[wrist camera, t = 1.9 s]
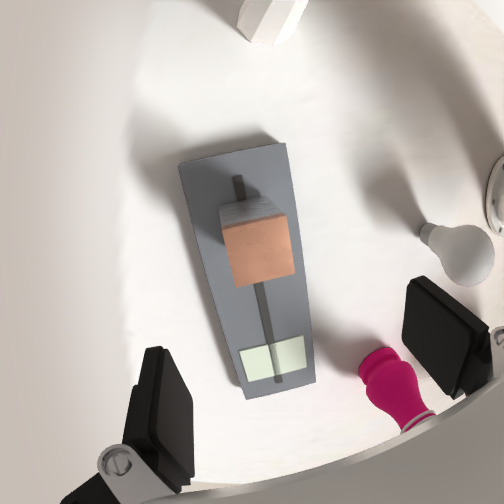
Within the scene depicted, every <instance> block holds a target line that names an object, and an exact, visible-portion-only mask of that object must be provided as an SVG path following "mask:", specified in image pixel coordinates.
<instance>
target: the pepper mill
mask: <svg viewBox="0 0 504 504" xmlns="http://www.w3.org/2000/svg"><path fill="white" fill-rule="evenodd" d="M359 376H360V378H361V379H362V381H363V383H364V384H365V385H367V387H366V394H367V396H368V398H369V400H370V401H371V402H372V403H373V404H374V405H375V406H376V407H377V408H379V409H381V410H383V411H385V412H386V413H388V414H389V415H390V416H391V417H393V418H394V420H395V421H396V422H397V423H398V425H399V427H400V429H401V433H400V435H401V434H403V433H405V432H407V431H409V430H411V429H413V428H415V427H417V426H419V425H421V424H422V423H424V422H426V421H428V420H430V419H432V418H433V417H435V416H437V415H436V414H435V412H434V411H433V410H429V409H428V408H427V407H426V406H425V404H424V403H423V401H422V398H421V395H420V392H419V387H418V381H417V377H416V374H415V371H414V370H413V368H412V366H411V365H410V364H409V363H408V362H405V361H401V359H400V357H399V356H398V354H397V353H396V352H395V350H393V349H392V348H381V349H378V350H376V351H374V352H373V353H371V354H370V355H369V356H367V357H366V358H365V360H364V361H363V362H362V364H361V366H360V368H359Z"/></svg>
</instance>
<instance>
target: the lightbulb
mask: <svg viewBox="0 0 504 504" xmlns="http://www.w3.org/2000/svg"><path fill="white" fill-rule="evenodd" d="M420 239H421V241H422V242H423V243H424V244H426V245H427V246H429V248H430V249H431V250H432V251H433V252H434V253H435V254H436V255H437V256H438V257H439V258H440V261H441V263H442V266H443V268H444V271H445V273H446V274H447V276H448V277H449V278H450V279H451V280H452V281H453V282H454V283H456V284H458V285H461V286H467V287H469V286H474V285H477V284H479V283H481V282H482V281H484V280H485V279H486V278H487V277H488V275H489V274H490V272H491V270H492V268H493V264H494V258H495V252H494V247H493V243H492V241H491V239H490V237H489V236H488V235H487V233H486V232H485V231H483V230H482V229H481V228H479V227H477V226H474V225H463V226H458V227H455V228H448V227H445V226H438V225H435V224H432V223H426V224H425V225H424V226H423V227H422V228H421V231H420Z"/></svg>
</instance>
